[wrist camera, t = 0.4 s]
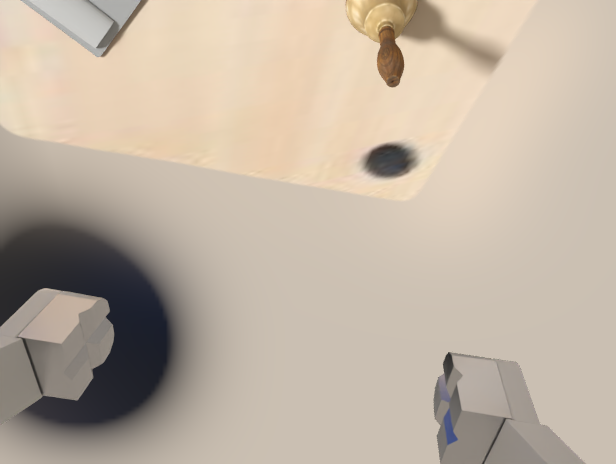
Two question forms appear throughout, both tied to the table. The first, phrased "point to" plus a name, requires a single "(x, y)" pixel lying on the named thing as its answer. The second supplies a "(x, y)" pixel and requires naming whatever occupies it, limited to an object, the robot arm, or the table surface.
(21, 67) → the table surface
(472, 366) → the robot arm
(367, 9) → the hand bell
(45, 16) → the office telephone
